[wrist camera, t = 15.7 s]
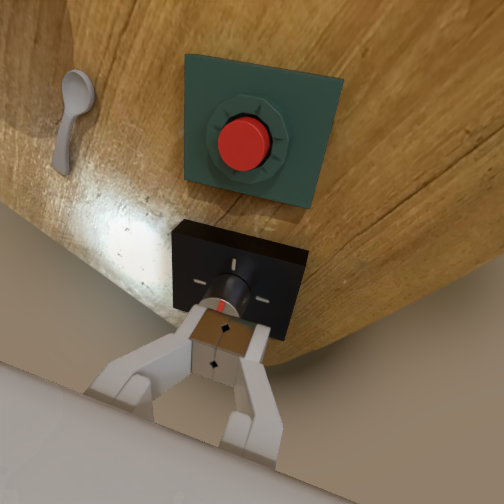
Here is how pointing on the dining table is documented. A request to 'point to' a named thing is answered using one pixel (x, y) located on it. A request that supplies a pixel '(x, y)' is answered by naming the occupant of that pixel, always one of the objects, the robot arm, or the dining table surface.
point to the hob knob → (227, 295)
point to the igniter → (266, 112)
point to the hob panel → (237, 271)
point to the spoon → (71, 114)
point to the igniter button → (243, 143)
